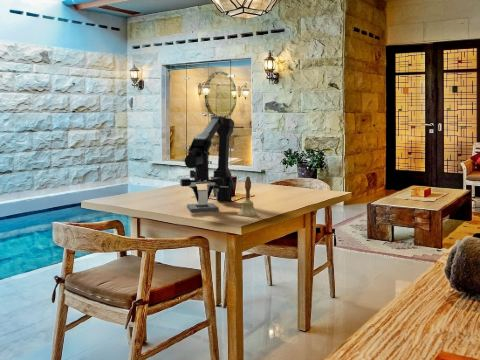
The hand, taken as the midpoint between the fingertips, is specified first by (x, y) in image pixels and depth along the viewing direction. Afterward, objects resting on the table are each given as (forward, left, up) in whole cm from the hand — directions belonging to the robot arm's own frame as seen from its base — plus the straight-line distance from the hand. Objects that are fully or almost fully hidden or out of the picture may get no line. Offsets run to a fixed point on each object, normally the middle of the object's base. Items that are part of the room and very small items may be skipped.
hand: (202, 201), depth 228 cm
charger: (0, 0, -1) cm, 1 cm away
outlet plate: (0, 0, -4) cm, 4 cm away
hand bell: (-16, +17, -4) cm, 24 cm away
